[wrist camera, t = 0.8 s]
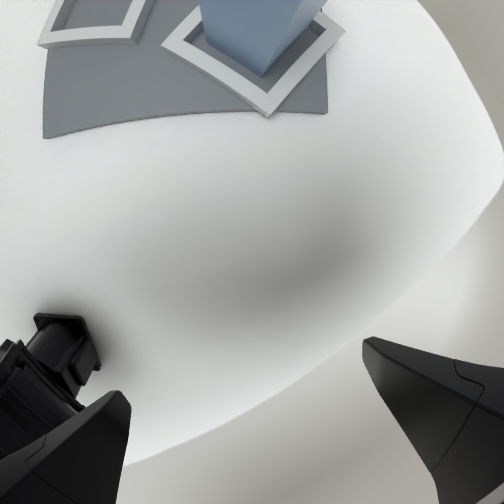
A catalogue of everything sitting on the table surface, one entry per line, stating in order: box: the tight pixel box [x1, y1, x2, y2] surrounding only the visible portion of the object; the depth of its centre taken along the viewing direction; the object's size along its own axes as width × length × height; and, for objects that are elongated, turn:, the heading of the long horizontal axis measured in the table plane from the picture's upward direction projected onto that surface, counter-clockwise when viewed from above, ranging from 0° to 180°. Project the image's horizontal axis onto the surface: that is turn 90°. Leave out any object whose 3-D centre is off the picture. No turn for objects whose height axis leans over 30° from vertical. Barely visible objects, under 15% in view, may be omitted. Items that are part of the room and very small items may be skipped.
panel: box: [37, 0, 345, 139], centre depth 13 cm, size 22×17×2 cm
